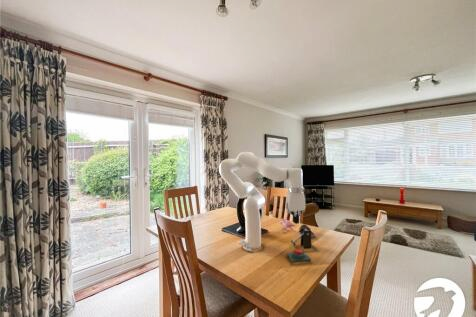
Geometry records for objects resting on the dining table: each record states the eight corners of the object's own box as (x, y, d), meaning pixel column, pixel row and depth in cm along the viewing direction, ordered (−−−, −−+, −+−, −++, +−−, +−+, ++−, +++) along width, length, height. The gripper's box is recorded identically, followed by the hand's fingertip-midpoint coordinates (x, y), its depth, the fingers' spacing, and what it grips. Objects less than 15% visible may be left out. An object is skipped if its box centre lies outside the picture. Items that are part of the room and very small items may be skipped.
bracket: (300, 252, 117) (300, 232, 117) (295, 246, 125) (295, 227, 125) (317, 251, 119) (316, 231, 118) (310, 245, 127) (310, 226, 126)
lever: (295, 246, 119) (292, 243, 118) (291, 243, 124) (289, 240, 123) (310, 233, 120) (308, 230, 119) (306, 230, 125) (304, 227, 124)
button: (296, 255, 107) (296, 252, 107) (293, 252, 110) (293, 249, 110) (303, 254, 107) (302, 251, 107) (300, 251, 111) (300, 248, 111)
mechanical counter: (311, 224, 147) (298, 222, 147) (319, 229, 134) (304, 226, 134) (309, 234, 146) (296, 232, 146) (317, 240, 134) (302, 237, 133)
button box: (292, 264, 104) (292, 257, 104) (286, 257, 112) (286, 250, 112) (310, 263, 106) (310, 255, 105) (304, 255, 113) (303, 248, 113)
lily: (297, 235, 145) (298, 221, 149) (284, 231, 141) (286, 217, 145) (286, 234, 155) (287, 222, 159) (274, 231, 151) (276, 218, 155)
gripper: (303, 188, 117) (304, 219, 118) (280, 189, 114) (280, 222, 114) (311, 190, 110) (312, 223, 110) (286, 192, 107) (287, 226, 107)
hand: (296, 222), depth 112 cm, fingers closed
